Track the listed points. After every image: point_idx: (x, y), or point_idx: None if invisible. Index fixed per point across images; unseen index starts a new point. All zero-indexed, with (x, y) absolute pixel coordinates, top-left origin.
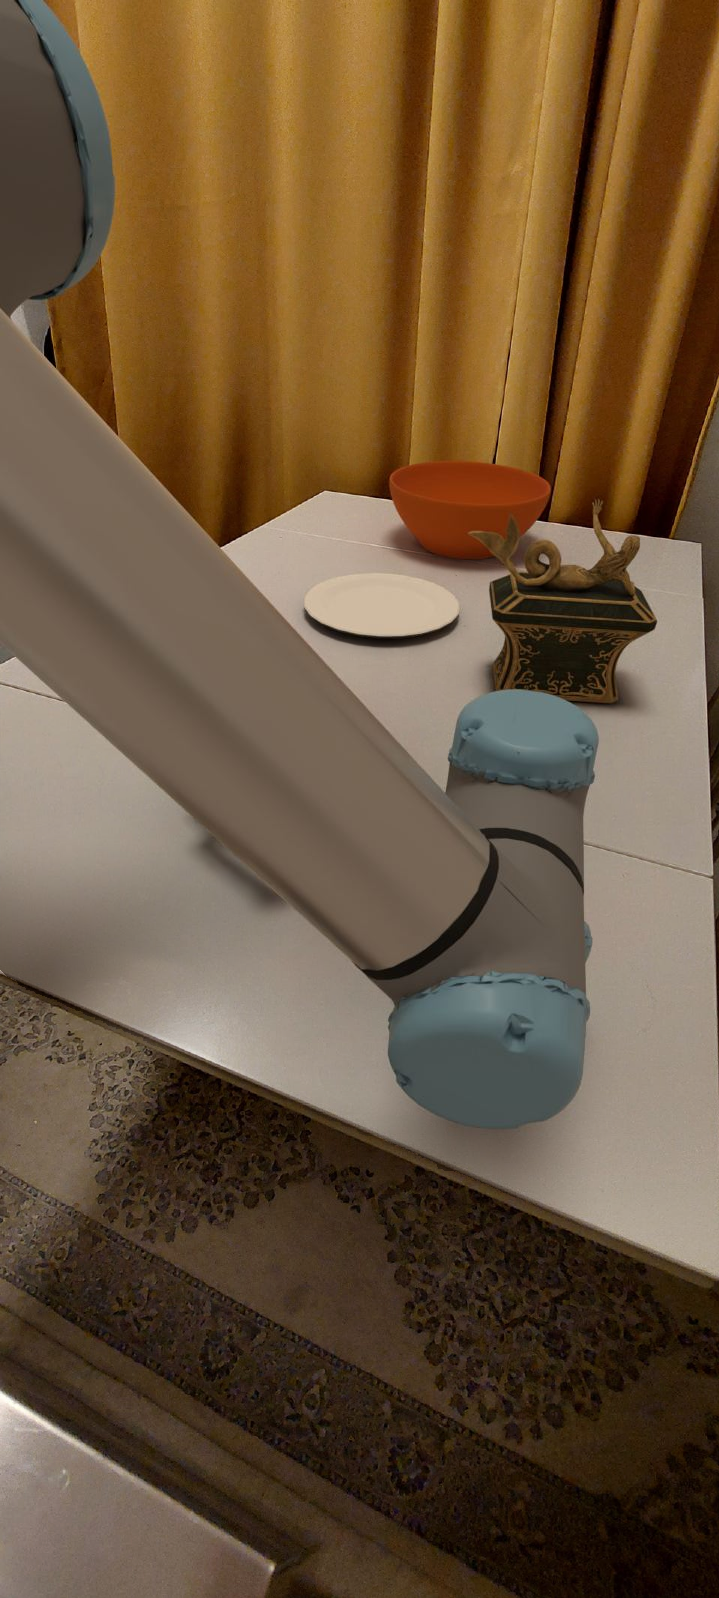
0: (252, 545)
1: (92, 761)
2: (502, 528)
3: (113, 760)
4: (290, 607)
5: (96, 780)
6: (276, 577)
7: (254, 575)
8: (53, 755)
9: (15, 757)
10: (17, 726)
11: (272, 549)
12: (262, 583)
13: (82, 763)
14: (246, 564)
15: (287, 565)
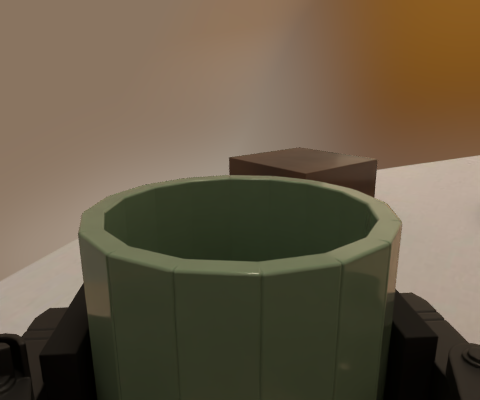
0: (436, 164)
1: None
2: None
3: None
4: (467, 206)
5: None
6: (455, 184)
7: (430, 180)
8: (45, 287)
9: (11, 276)
10: (67, 247)
11: (457, 168)
12: (437, 186)
13: None
14: (424, 173)
15: (471, 178)
